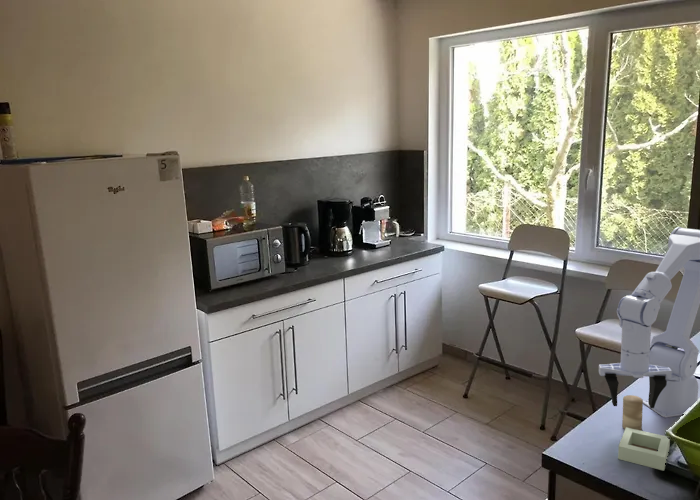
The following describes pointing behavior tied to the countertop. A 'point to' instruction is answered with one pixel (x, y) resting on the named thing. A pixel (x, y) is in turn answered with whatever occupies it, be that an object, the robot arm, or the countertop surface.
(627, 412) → the peg
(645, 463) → the socket
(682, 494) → the countertop surface
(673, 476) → the countertop surface
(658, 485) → the countertop surface
